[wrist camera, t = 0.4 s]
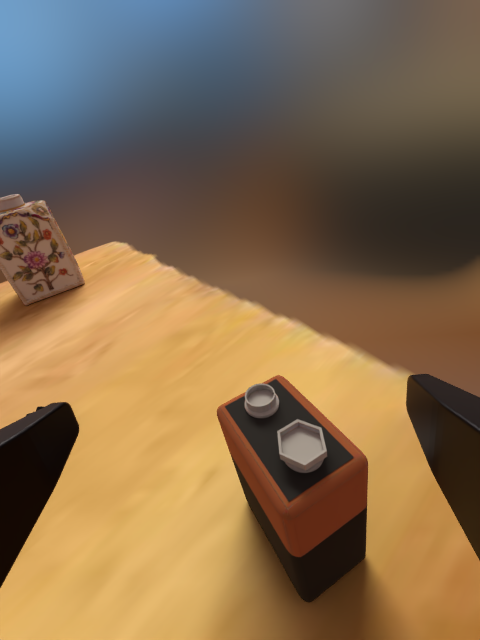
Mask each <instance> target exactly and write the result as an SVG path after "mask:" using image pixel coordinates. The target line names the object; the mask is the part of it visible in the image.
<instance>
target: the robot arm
mask: <svg viewBox="0 0 480 640" xmlns="http://www.w3.org/2000/svg"><path fill="white" fill-rule="evenodd" d="M406 407H407V412H408V415H409V417H410V420H411V422H412V424H413V427H414V429H415V432H416V434H417V437H418V439H419V442H420V444H421V447H422V449H423V452H424V454H425V456H426V459H427V461H428V464H429V466H430V468H431V471H432V473H433V475H434V477H435V479H436V481H437V483H438V484H439V486H440V488H441V490H442V492H443V494H444V496H445V497H446V499H447V501H448V503H449V505H450V507H451V508H452V510H453V512H454V514H455V516H456V518H457V520H458V521H459V523H460V525H461V527H462V529H463V531H464V532H465V534H466V536H467V538H468V540H469V542H470V544H471V545H472V547H473V549H474V551H475V553H476V555H477V556H478V558H479V560H480V397H478V396H475V395H473V394H471V393H469V392H466V391H464V390H462V389H460V388H458V387H455V386H453V385H451V384H448V383H447V382H444V381H442V380H440V379H438V378H435V377H433V376H431V375H429V374H418V375H410V376H409V377H408V380H407V397H406ZM78 434H79V425H78V422H77V420H76V417H75V415H74V413H73V410H72V408H71V406H70V405H69V404H68V403H66V402H59V403H52V404H49V405H47V406H45V407H44V408H42V409H40V410H38V411H36V412H34V413H32V414H30V415H28V416H26V417H24V418H22V419H20V420H18V421H16V422H14V423H12V424H10V425H8V426H6V427H4V428H2V429H0V588H1V586H2V584H3V582H4V581H5V579H6V577H7V575H8V573H9V571H10V570H11V568H12V566H13V564H14V562H15V560H16V558H17V557H18V555H19V553H20V551H21V549H22V547H23V546H24V544H25V542H26V540H27V538H28V536H29V535H30V533H31V531H32V529H33V527H34V525H35V524H36V522H37V520H38V518H39V516H40V514H41V512H42V511H43V509H44V507H45V505H46V503H47V501H48V500H49V498H50V496H51V494H52V492H53V490H54V488H55V486H56V484H57V482H58V480H59V478H60V475H61V473H62V471H63V468H64V466H65V464H66V461H67V459H68V457H69V455H70V452H71V450H72V448H73V445H74V443H75V441H76V439H77V436H78Z"/></svg>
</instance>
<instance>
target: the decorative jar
mask: <svg viewBox="0 0 480 640" xmlns="http://www.w3.org/2000/svg"><path fill="white" fill-rule="evenodd" d="M0 269H1V271H2V272H3V274H4V275H5V277H6V278H7V280H8V281H9V283H10V284H11V286H12V287H13V289H14V290H15V292H16V293H17V295H18V296H19V298H20V299H21V300H22V302H23V303H24V305H29V304H32V303H34V302H37V301H40V300H42V299H45V298H48V297H51V296H53V295H56V294H59V293H62V292H64V291H67V290H69V289H72V288H75V287H77V286H80V285H83V284H84V279H83V276H82V273H81V271H80V268H79V266H78V263H77V261H76V259H75V258H74V256H73V254H72V252H71V249H70V248H69V246H68V244H67V242H66V240H65V238H64V236H63V234H62V232H61V230H60V229H59V227H58V225H57V223H56V221H55V219H54V217H53V215H52V211H50V209H49V207H48V205H47V203H46V202H45V201H32V202H28V203H24V202H23V200H22V198H21V196H20V195H19V194H15V195H9V196H6V197H3V198H0Z"/></svg>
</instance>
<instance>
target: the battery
mask: <svg viewBox="0 0 480 640" xmlns="http://www.w3.org/2000/svg"><path fill="white" fill-rule="evenodd" d="M217 416H218V420H219V422H220V425H221V428H222V431H223V434H224V437H225V440H226V442H227V445H228V448H229V451H230V454H231V457H232V460H233V462H234V465H235V468H236V471H237V474H238V477H239V480H240V482H241V485H242V488H243V491H244V494H245V497H246V499H247V501H248V503H249V505H250V507H251V509H252V511H253V513H254V514H255V516H256V518H257V520H258V522H259V524H260V525H261V527H262V529H263V531H264V533H265V534H266V536H267V538H268V540H269V542H270V543H271V545H272V547H273V549H274V551H275V552H276V554H277V556H278V558H279V560H280V562H281V563H282V565H283V567H284V569H285V571H286V572H287V574H288V576H289V578H290V580H291V581H292V583H293V585H294V587H295V589H296V590H297V592H298V594H299V595H300V597H301V598H302V599H303V600H304V601H306V602H311V601H313V600H314V599H315V598H317V597H318V596H319V595H320V594H322V593H323V592H324V591H325V590H326V589H328V588H329V587H330V586H331V585H333V584H334V583H335V582H336V581H337V580H339V579H340V578H341V577H342V576H343V575H345V574H346V573H347V572H348V571H350V570H351V569H352V568H353V567H354V566H356V565H357V564H358V563H359V562H361V561H362V560H363V559H364V558H365V554H366V522H367V485H368V461H367V458H366V456H365V455H364V454H363V453H362V452H361V451H360V450H359V449H358V448H357V447H356V446H355V445H354V444H353V443H352V442H351V441H350V440H349V439H348V438H347V437H346V436H345V435H344V434H343V433H342V432H341V431H340V430H339V429H338V428H337V427H335V426H334V425H333V424H332V423H331V422H330V421H329V420H328V419H327V418H326V417H325V416H324V415H323V414H322V413H321V412H320V411H319V410H318V409H317V408H316V407H315V406H314V405H313V404H312V403H311V402H309V401H308V400H307V399H306V398H305V397H304V396H303V395H302V394H301V393H300V392H299V391H298V390H297V389H296V388H295V387H294V386H293V385H292V384H291V383H290V382H289V381H288V380H286V379H285V378H284V377H282V376H280V375H278V376H275V377H273V378H271V379H269V380H267V381H265V382H263V383H262V384H255V385H253V386H251V387H250V388H249V389H248V390H247V391H246V392H245V393H243V394H241V395H239V396H237V397H235V398H233V399H232V400H230V401H228V402H226V403H224V404H222V405H221V406H219V407H218V409H217Z"/></svg>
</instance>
